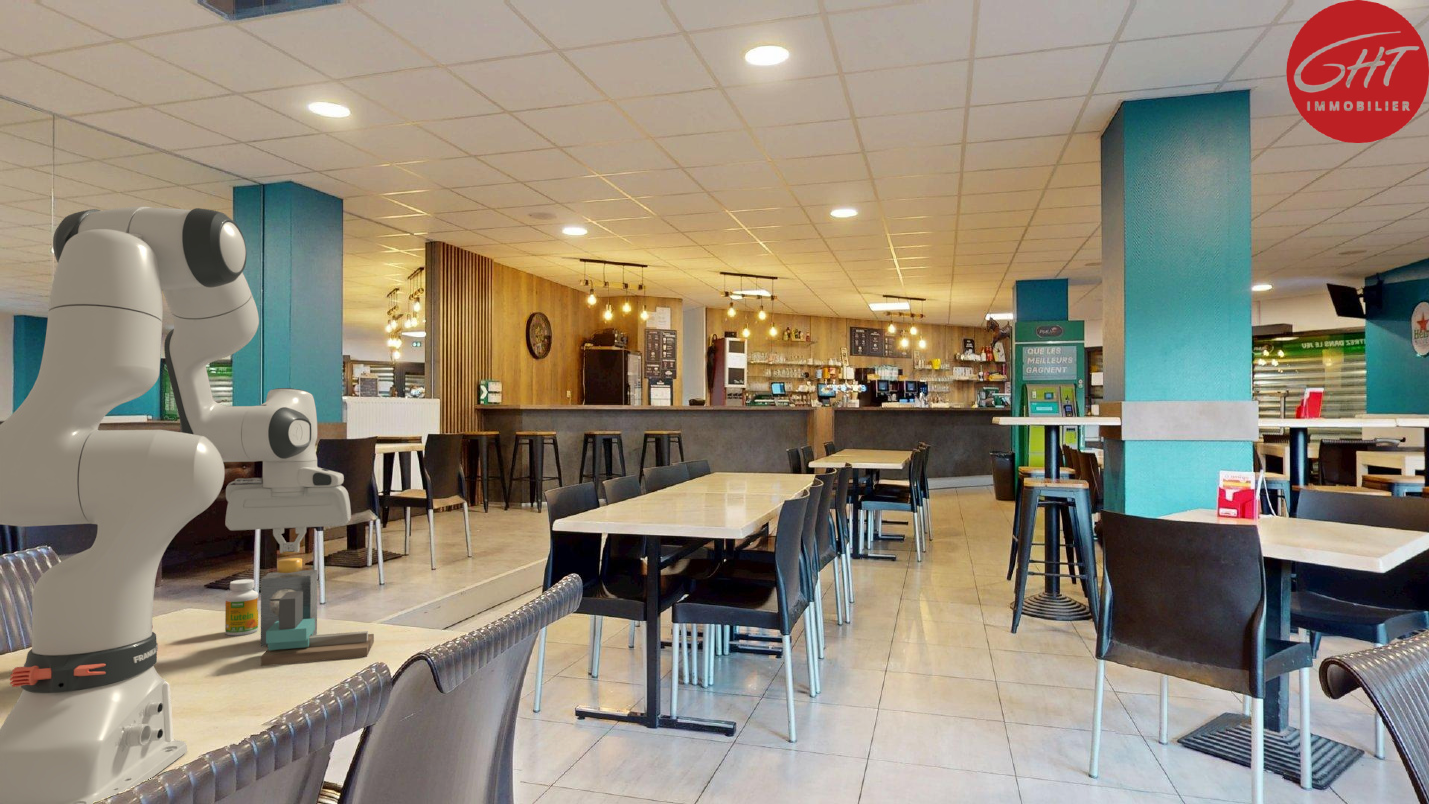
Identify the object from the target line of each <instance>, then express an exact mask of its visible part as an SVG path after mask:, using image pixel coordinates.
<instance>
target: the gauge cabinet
mask: <svg viewBox="0 0 1429 804" xmlns="http://www.w3.org/2000/svg"><path fill="white" fill-rule="evenodd" d="M297 591H303V619H312V618H315V630H314V631H313V635H318V569H314V570H313V569H312V570H311V569H310V570H302V571H298V572H292V573H278V572H277V571H275V572H274V571H273V572H268V573H267V574H266V575H264V576H263V577H261V578H260V647H261V648H262V647H268V644H266V631H267V630H268V629H269V628H270V627H271V626H272V625H273V624H274V623H275V622H276V621H279V599H280V598H282V597H283V596H284V595H285V594H286V593H287V592H297Z"/></svg>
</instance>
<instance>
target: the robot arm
mask: <svg viewBox="0 0 1429 804" xmlns="http://www.w3.org/2000/svg"><path fill="white" fill-rule="evenodd" d="M52 237H53V238H52V247H53V252H54V257H55V259H56V262H57V265H56V267H55V269H56V270H55V271H54V276H53V280H52V284H51V288H50V289H51V290H50V294H49V295H50V296H49V303H48V304H49V305H48V310H47V311H48V313H47V323H46V332H45V333H46V334H45V340H44V347H43V352H42V358H41V363H40V368H39V372H38V374H37V378H36V380H35V382H34V384H33V387H32V388H31V390H30V391H29V392H28V394H27V397H26V398H25V399H24V400H23V402H22V403H21V404H20V405H19V406H18V408H17V409H16V410H14V412H13V413H12V414H10V415H9V416H8V418H6V419H5V420H4V421H3V422H2V423H1V424H0V525H3V526H13V527H41V526H45V527H46V526H62V525H84V524H85V525H87V524H89V525H90V524H91V525H97V533H96V536H95V537H96V538H95V540H94V541H93V544H92V546H91V547H90V548H87V549H86V550H83V551H81V552H79V553H76V554H74V555H72V556H70V557H68V558H66V559H63V560H62V561H59V562H58V563H56V564H54V565H53V566H51V567H49V569H47V570H46V571H44V572H43V574H41V575H40V577H39V578H38V579H37V581H36V583H35V585H34V587H33V591H32V617H31V619H32V621H31V622H32V623H31V626H32V627H31V628H32V629H31V636H32V637H31V649H29V651H28V652H27V653H26V658H25V662H24V664H23V666H16V667H15V668H14V667H13V668H14V669H12V671H11V674H10V678H9V681H10V685H11V687H12V688H15V687H16V688H18V687H20V688H21V689H22V691H21V693H20V695H19V697H18V699H17V701H16V702H15V704H14V705H13V707H12V708H11V709H10V712H9V713H8V714H7V716H6V718H5V720H4V722H3V723H2V725H1V727H0V804H93V802H94V801H99V800H101V799H102V798H107V797H108V796H111V795H114V794H117V793H119V792H123V791H125V790H126V789H130V788H131V787H133V786H136V785H137V784H138V783H141V782H143V781H144V780H148V779H149V778H151V779H152V778H154V776H156V775H157V774H159V773H160V772H162V771H164V769H165V768H167V767H168V766H170V765H171V764H172V763H174V762H175V761H176V760H178V759H179V758H181V757H182V756H184V755H185V754H186V753H187V752H188V747H187V746H188V744H187V742H186V741H183V740H179V739H174V726H173V712H172V711H173V709H172V697H171V696H172V694H171V687H170V686H171V685H170V683H169V682H167V680H166V679H164V678H163V677H162V676H161V675H160V674H159V673H158V672H157V671H158V670H156V668H155V665H156V664H157V662H158V660H157V655H158V651H159V647H158V646H159V645H158V642H157V634H156V633H155V632H154V631H153V629H152V625H153V614H154V613H153V609H154V598H155V597H154V596H155V595H154V594H155V585H156V579H157V572H158V568H159V566H160V563H161V560H162V558H163V556H164V553H165V552H166V550H167V548H168V547H169V545H170V543H171V542H172V540H173V539H174V538H175V536H176V535H177V534H178V533H180V531H181V530H182V529H183V528H184V527H185V526H186V525H187V524H188V523H189V522H191V521H192V520H193V519H194V518H196V517H197V516H198V515H200V514H202V513H203V512H204V511H206V510H207V509H208V508H209V507H210V506H211V505H213V503H214V502H215V500H216V499H217V498H218V497H219V495H220V493H221V490H222V488H223V485H224V481H225V471H226V470H225V464H224V463H230V462H231V463H233V462H235V463H236V462H237V463H238V462H239V463H241V462H243V463H244V462H246V463H248V462H262V477H251V478H241V477H240V478H235V479H234V480H233V481H231V482H229V483H228V484H227V486H226V488H225V499H226V501H227V506H226V512H225V513H226V514H225V523H224V524H225V527H226V528H227V529H228V530H229V531H247V530H249V531H251V530H253V531H254V530H272V536H273V537H274V539H275V540H276V542H277V543H278V544H279V553H280V554H292V553H293V554H295V553H297V554H298V553H300V547H301V546H300V544H301V541H302V540H303V538H304V537H305V535H306V534H307V528H318V527H340V526H341V527H342V526H345V525H347V524H348V523H349V522H350V521H351V518H352V510H351V501H350V496H349V495H350V494H349V492H348V490H347V489H346V487H344V486H343V485H342V484H344V481H345V479H344V478H345V477H344V476H345V475H344V474H343V473H341V472H338V471H334V470H330V469H327V468H321V467H319V466H318V457H317V452H316V443H317V440H318V417H317V408H316V403H315V398H314V395H313V394H312V393H310V392H309V391H306V390H304V389H299V388H294V387H293V388H292V387H277V388H273V389H270V390H269V391H268V392H267V394H266V399H265V402H264V403H261V404H260V405H252V406H251V405H249V406H248V405H247V406H246V405H243V406H242V405H241V406H239V405H238V406H237V405H236V406H234V405H233V406H230V405H229V406H228V405H224V404H221V403H219V402H216V401H215V400H214V397H213V393H212V389H211V384H210V380H209V379H210V378H209V375H208V371H207V365H209V364H211V363H214V362H216V361H219V360H222V359H226V358H228V357H230V356H232V355H234V354H235V353H237V352H239V351H241V349H243V348H244V347H246V345H248V344H249V343H250V342H251V341H252V339H253V338H254V336H256V333H257V331H258V329H259V325H260V317H259V311H258V307H257V305H256V301H255V299H254V295H253V294H252V291H251V289H250V286H249V283H248V281H247V279H246V276H245V274H244V270H245V267H246V265H247V257H248V256H247V254H248V253H247V245H246V240H245V238H244V237H245V236H244V234H243V232H242V230H241V228H240V227H239V225H238V224H237V222H235V221H234V220H233V219H232V218H230V217H229V216H228V215H227V214H226V213H223V212H222V211H216V210H213V209H207V208H199V207H198V208H197V207H195V208H193V209H185V208H184V209H183V208H175V207H174V208H171V207H170V208H169V207H151V206H130V207H129V206H128V207H117V208H113V209H111V208H110V209H109V208H108V209H103V210H100V209H97V208H96V209H95V208H93V209H87V210H82V211H78V212H73V213H72V214H68V215H67V216H65V217H64V218H63V219H62V220H61V222H60V223H59V225H58V226H57V227H56V229H55V231H54V234H53V236H52ZM163 295H164V299H165V301H166V303H167V306H168V309H169V311H170V313H171V316H172V320H173V328H172V329H171V330H170V331H168V333H167V335H166V336H165V339H164V346H163V347H164V348H163V351H164V359H165V364H166V369H167V374H168V378H169V382H170V386H171V389H172V393H173V397H174V402H175V405H176V409H177V413H178V417H179V427H180V432H179V431H174V430H168V429H167V430H166V429H124V430H123V429H116V430H115V429H112V430H111V429H109V430H107V429H105V430H104V429H103V430H101V429H100V430H99V427H100V424H101V422H102V421H103V419H104V417H106V415H108V413H109V412H110V411H112V410H113V409H115V408H116V407H118V406H120V405H122V404H124V403H128V402H130V401H132V400H136V399H138V398H139V397H141V396H143V395H145V394H146V393H147V392H149V391H150V390H151V388H153V386H155V385H156V383H157V382H158V379H159V377H160V369H161V354H162V353H161V351H162V338H163V337H162V335H163V316H164V312H163V310H164V307H163V306H164V305H163ZM285 529H295V534H296V535H297V534H298V535H297V537H296V538H295V541H291V542H290V541H289V542H287V541H286V540H285V538H284V537H283V535H282V534H285ZM149 780H150V779H149ZM149 780H148V781H149Z"/></svg>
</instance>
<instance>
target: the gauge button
mask: <svg viewBox="0 0 1429 804" xmlns="http://www.w3.org/2000/svg"><path fill="white" fill-rule="evenodd" d="M276 564H277V565H276V567H277V568H276V569H277V571H276V572H278V573H292V572H298V571H303V558H300V557H291V558H290V557H289V558H282V559H279V560H277V563H276Z"/></svg>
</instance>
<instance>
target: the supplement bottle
mask: <svg viewBox="0 0 1429 804" xmlns="http://www.w3.org/2000/svg"><path fill="white" fill-rule="evenodd" d="M254 588H255V580H254V579H250V578H249V579H248V578H246V579H244V578H243V579H236V580H233V581H230V582H229V591H231V592H229V593H227V595H226V596H225V602H224V603H225V605H224V606H225V608H224V609H225V610H224V611H225V613H224V615H225V622H224V623H225V624H224V625H225V626H224V628H225V630H224V631H225V635H227V636H232V637H233V636H234V637H235V636H236V637H237V636H239V637H240V636H245V635H250V634H254V633H256V632H258V630H259V599H260V597H259V593H258V591H257V590H254Z"/></svg>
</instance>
